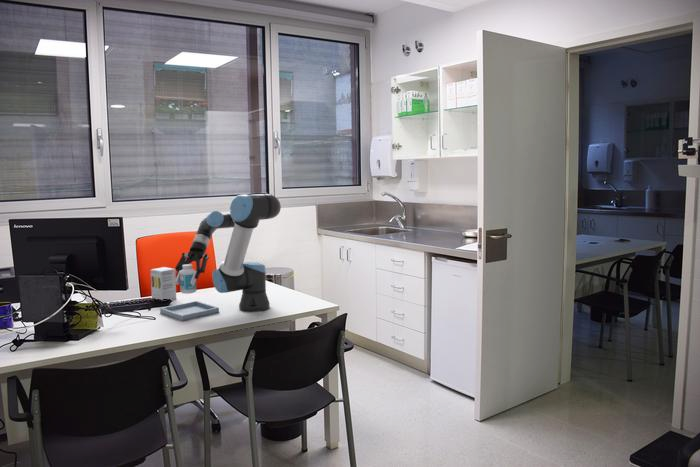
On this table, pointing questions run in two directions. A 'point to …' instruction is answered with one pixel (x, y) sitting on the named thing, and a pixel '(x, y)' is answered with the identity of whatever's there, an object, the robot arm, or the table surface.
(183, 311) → the tray
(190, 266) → the pill bottle
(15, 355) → the table surface
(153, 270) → the supplement box
